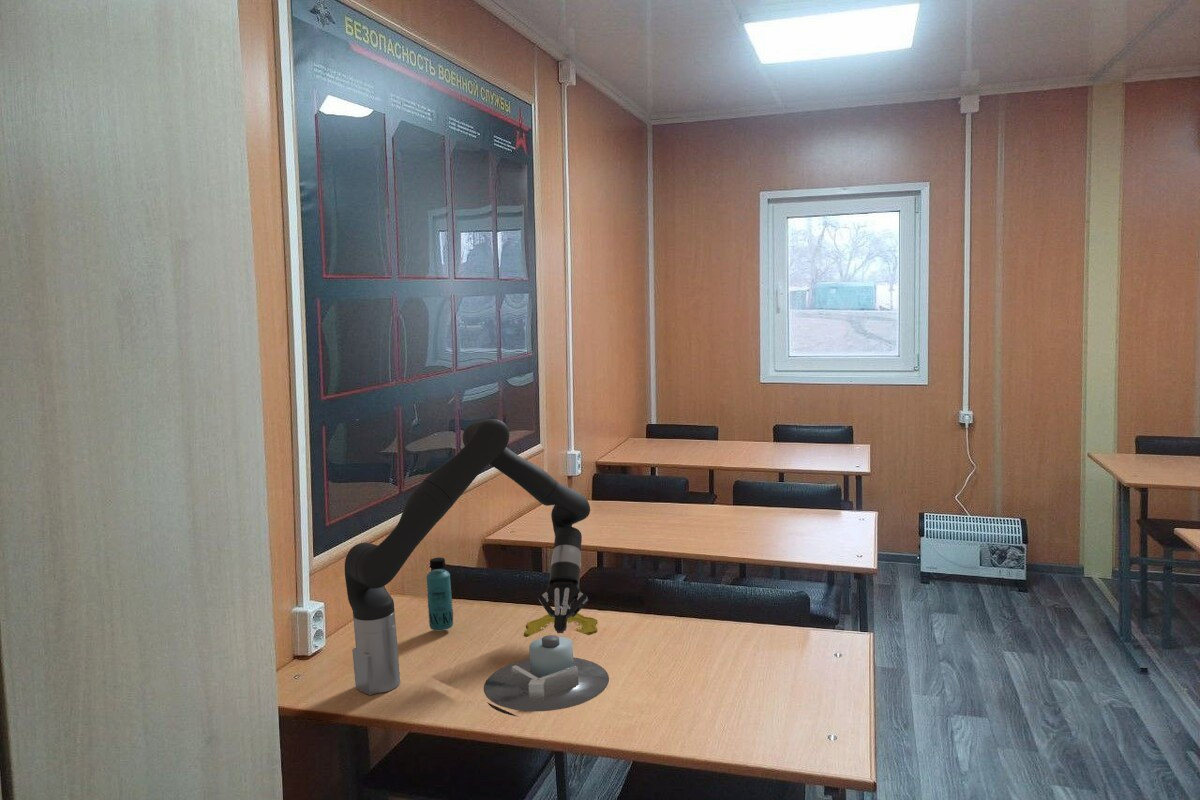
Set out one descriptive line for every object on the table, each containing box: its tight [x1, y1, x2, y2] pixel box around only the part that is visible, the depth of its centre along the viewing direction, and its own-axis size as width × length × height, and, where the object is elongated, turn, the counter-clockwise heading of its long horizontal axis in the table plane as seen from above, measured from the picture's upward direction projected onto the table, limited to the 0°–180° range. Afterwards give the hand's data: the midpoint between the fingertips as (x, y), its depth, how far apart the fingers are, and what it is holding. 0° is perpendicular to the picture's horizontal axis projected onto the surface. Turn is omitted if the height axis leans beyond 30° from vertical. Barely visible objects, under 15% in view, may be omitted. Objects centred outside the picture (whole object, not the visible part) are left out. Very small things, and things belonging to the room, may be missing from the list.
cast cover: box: [528, 634, 574, 678], centre depth 204 cm, size 10×10×8 cm
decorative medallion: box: [523, 612, 599, 638], centre depth 234 cm, size 20×20×2 cm
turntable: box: [483, 656, 610, 717], centre depth 198 cm, size 28×28×6 cm
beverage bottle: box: [425, 557, 455, 631], centre depth 235 cm, size 6×7×20 cm
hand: (559, 632), depth 214 cm, fingers closed
